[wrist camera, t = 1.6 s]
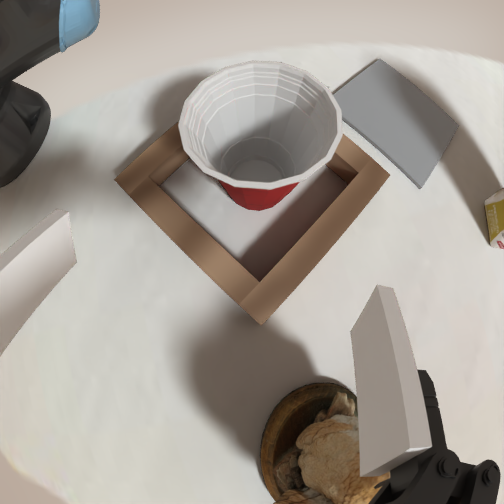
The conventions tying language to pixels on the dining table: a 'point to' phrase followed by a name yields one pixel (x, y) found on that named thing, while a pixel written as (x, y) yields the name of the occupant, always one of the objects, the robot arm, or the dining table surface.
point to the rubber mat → (397, 119)
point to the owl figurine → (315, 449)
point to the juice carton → (495, 219)
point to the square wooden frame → (215, 256)
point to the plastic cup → (260, 129)
